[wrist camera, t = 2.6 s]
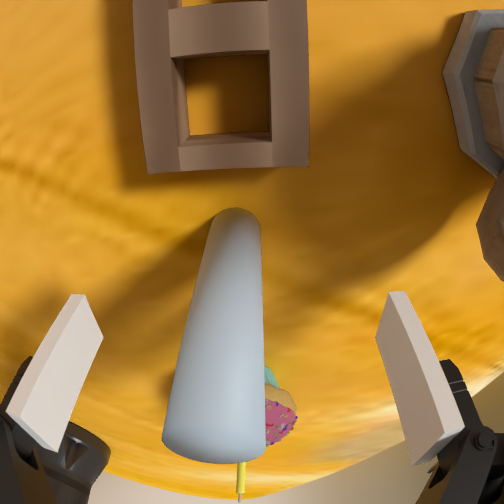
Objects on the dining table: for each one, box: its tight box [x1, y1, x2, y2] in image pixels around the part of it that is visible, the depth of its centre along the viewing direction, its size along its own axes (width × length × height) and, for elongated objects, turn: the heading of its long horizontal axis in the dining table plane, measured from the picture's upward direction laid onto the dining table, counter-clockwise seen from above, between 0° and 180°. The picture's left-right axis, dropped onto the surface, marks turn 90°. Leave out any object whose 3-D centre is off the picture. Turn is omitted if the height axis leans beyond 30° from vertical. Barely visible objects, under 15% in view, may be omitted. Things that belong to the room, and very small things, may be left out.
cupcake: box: [236, 366, 297, 502], centre depth 23 cm, size 9×8×12 cm
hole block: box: [133, 0, 309, 174], centre depth 13 cm, size 8×14×3 cm, turn 2°
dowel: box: [162, 208, 266, 464], centre depth 14 cm, size 3×3×14 cm
